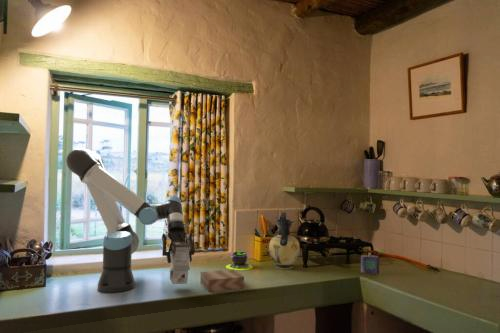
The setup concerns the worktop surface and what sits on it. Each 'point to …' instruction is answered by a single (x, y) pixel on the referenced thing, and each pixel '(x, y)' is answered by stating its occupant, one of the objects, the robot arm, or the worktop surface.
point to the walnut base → (222, 280)
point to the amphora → (284, 244)
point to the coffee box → (179, 263)
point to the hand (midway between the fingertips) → (180, 268)
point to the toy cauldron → (239, 261)
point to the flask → (370, 264)
